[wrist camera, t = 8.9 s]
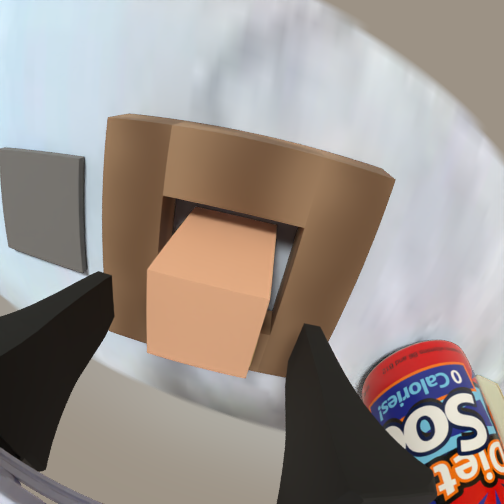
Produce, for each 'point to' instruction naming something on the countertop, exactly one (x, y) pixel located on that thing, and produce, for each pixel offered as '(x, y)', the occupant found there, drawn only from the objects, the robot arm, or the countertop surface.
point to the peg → (211, 291)
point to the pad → (44, 205)
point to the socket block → (244, 201)
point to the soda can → (440, 419)
